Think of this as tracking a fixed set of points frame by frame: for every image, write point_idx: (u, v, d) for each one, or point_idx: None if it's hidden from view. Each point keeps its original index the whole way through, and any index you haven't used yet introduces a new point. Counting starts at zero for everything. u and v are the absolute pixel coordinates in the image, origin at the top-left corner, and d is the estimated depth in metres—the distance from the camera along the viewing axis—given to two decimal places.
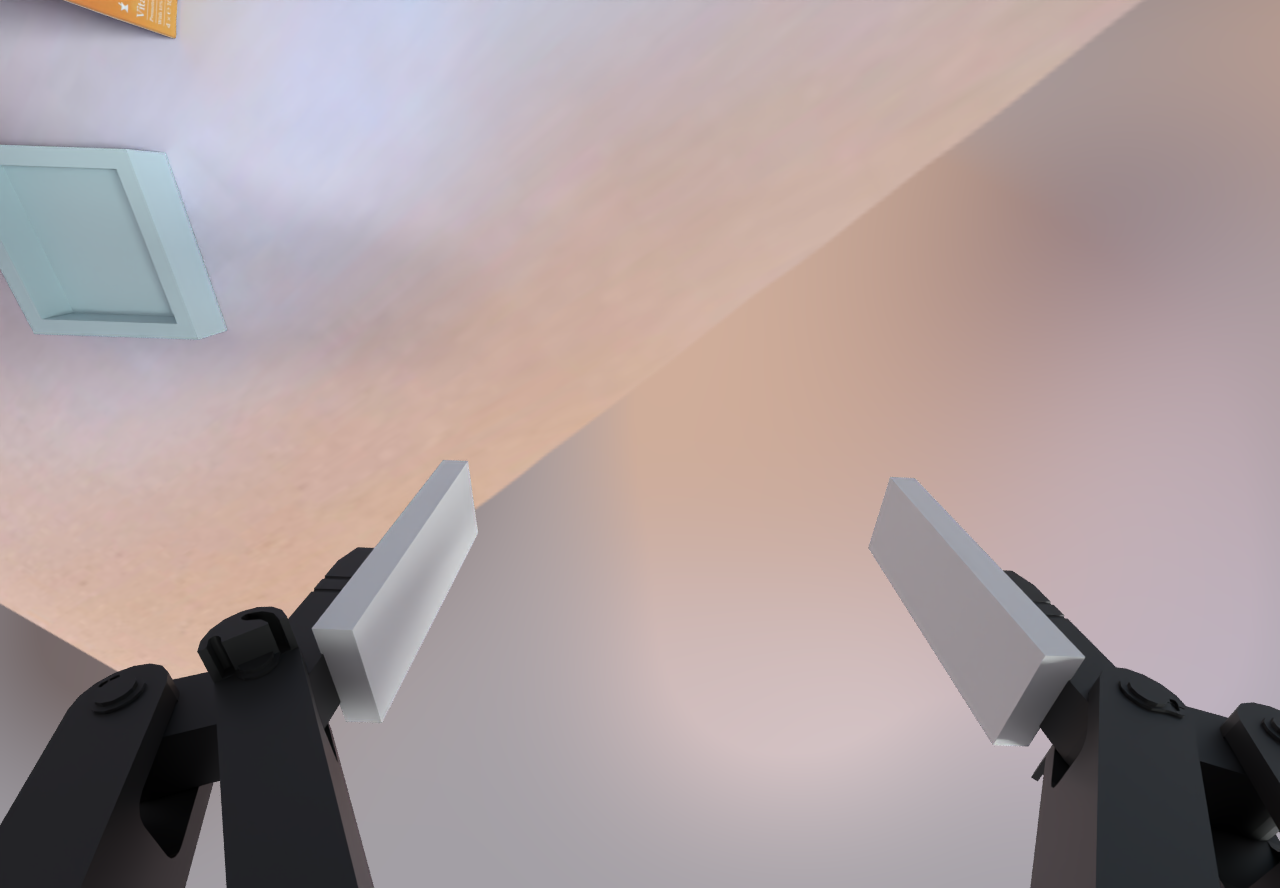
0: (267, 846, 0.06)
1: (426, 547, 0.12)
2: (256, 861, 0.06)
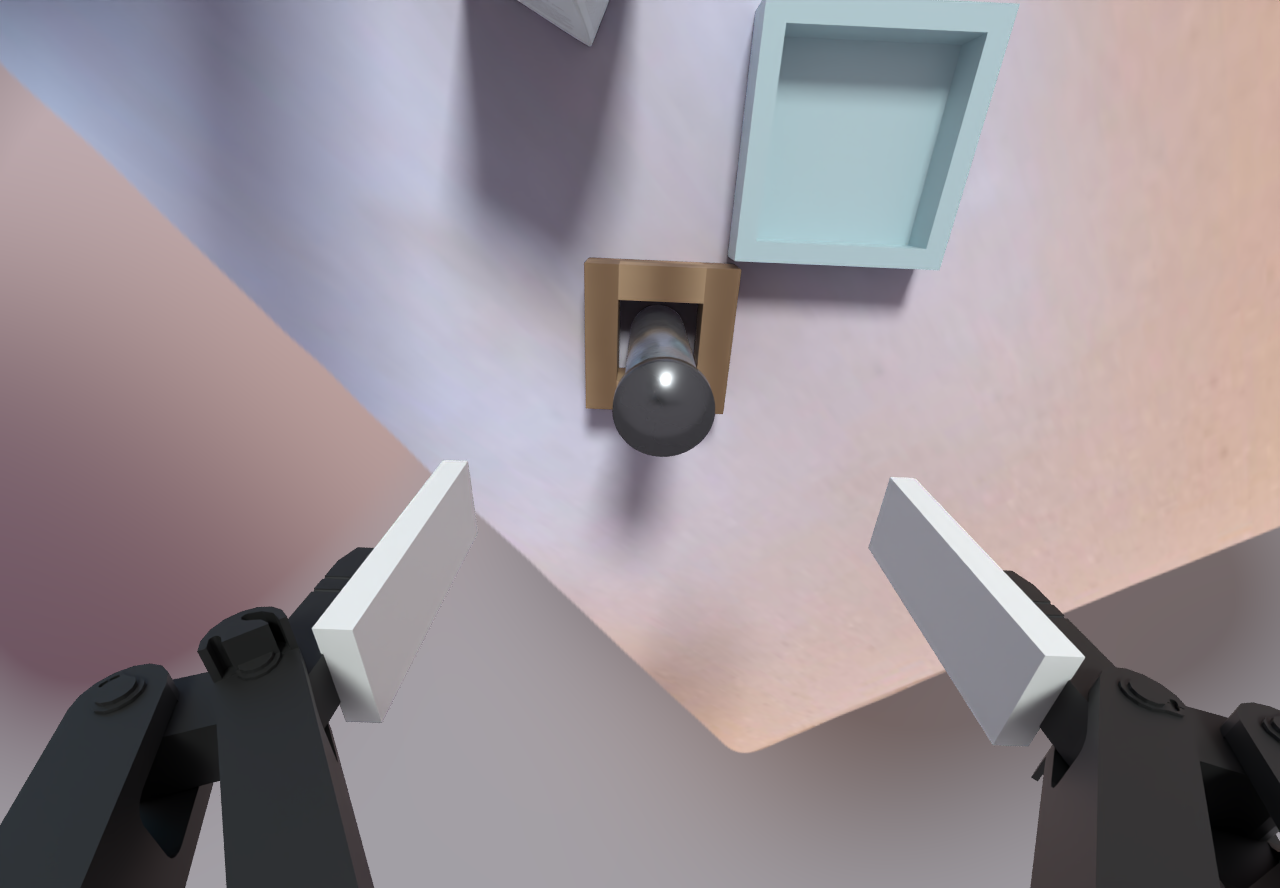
0: (267, 846, 0.06)
1: (425, 547, 0.12)
2: (256, 861, 0.06)
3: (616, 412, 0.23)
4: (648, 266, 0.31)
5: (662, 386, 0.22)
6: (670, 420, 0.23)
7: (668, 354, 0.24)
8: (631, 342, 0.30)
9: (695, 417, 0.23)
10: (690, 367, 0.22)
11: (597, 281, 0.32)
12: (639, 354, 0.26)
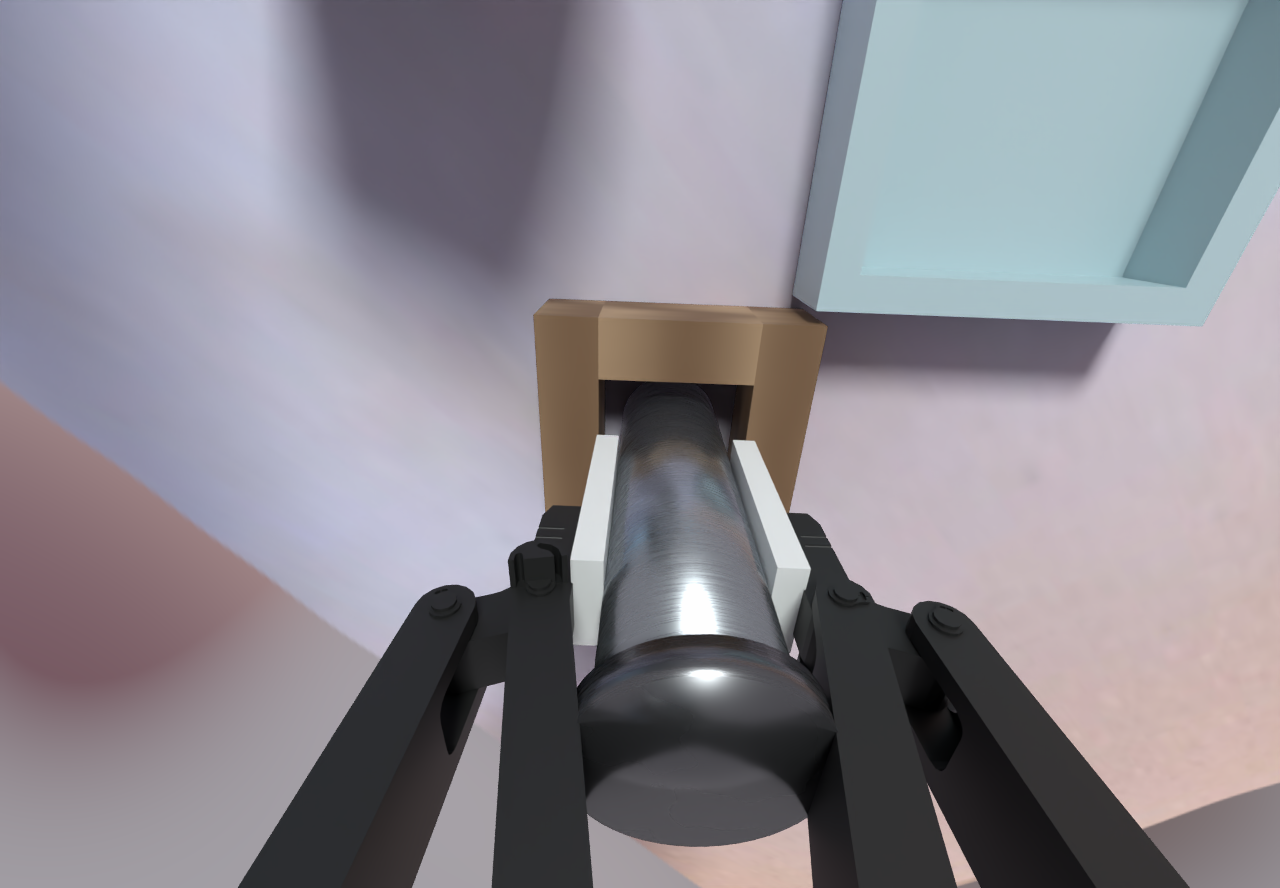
0: (529, 735, 0.08)
1: (612, 505, 0.14)
2: (520, 742, 0.07)
3: None
4: (653, 321, 0.17)
5: (700, 726, 0.08)
6: (719, 789, 0.08)
7: (707, 577, 0.10)
8: (621, 472, 0.15)
9: (788, 783, 0.08)
10: (783, 682, 0.07)
11: (558, 348, 0.17)
12: (635, 552, 0.11)
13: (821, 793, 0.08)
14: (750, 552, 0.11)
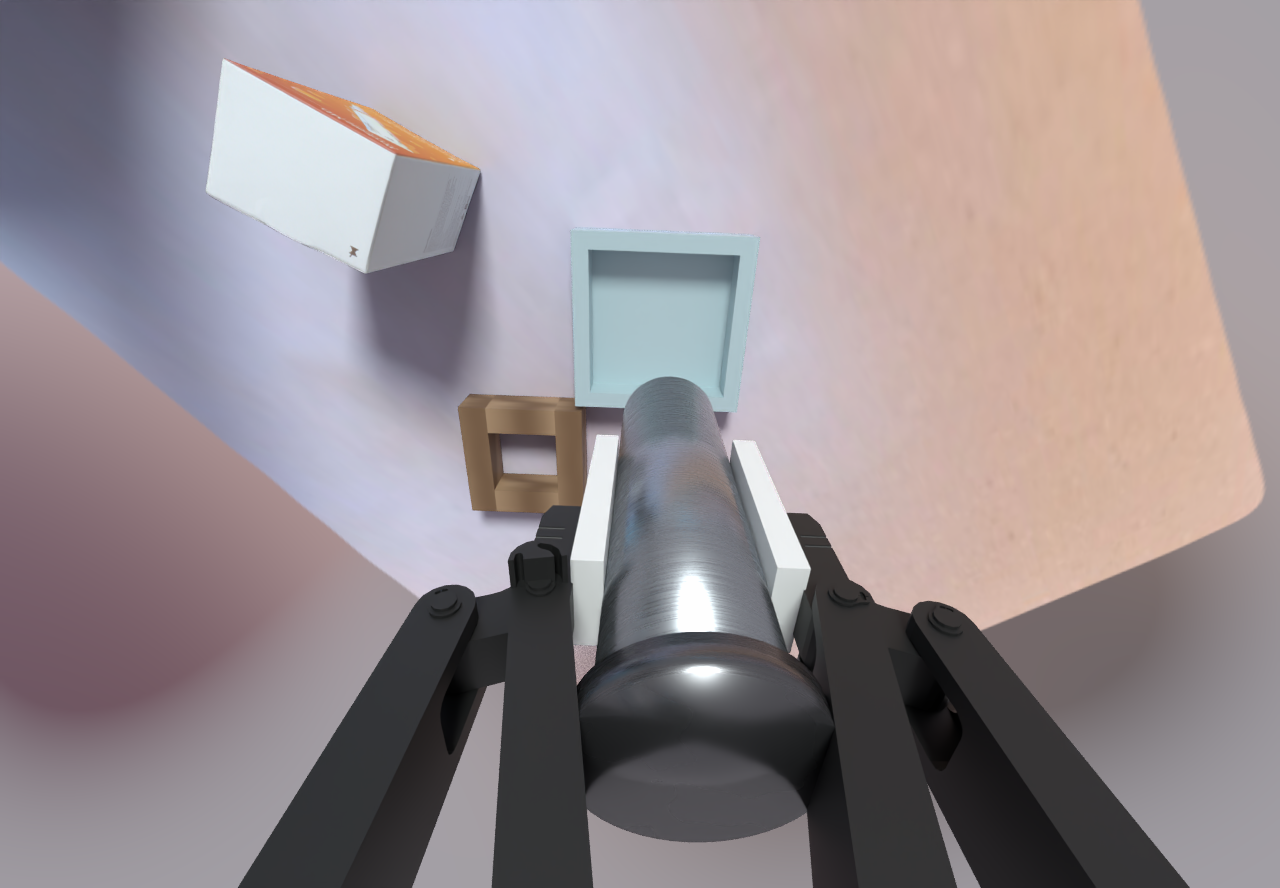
0: (529, 735, 0.08)
1: (612, 504, 0.14)
2: (520, 742, 0.07)
3: None
4: (508, 409, 0.40)
5: (699, 722, 0.08)
6: (718, 785, 0.09)
7: (706, 576, 0.10)
8: (621, 472, 0.15)
9: (786, 779, 0.09)
10: (781, 679, 0.08)
11: (469, 420, 0.40)
12: (635, 551, 0.11)
13: (821, 793, 0.08)
14: (749, 551, 0.11)
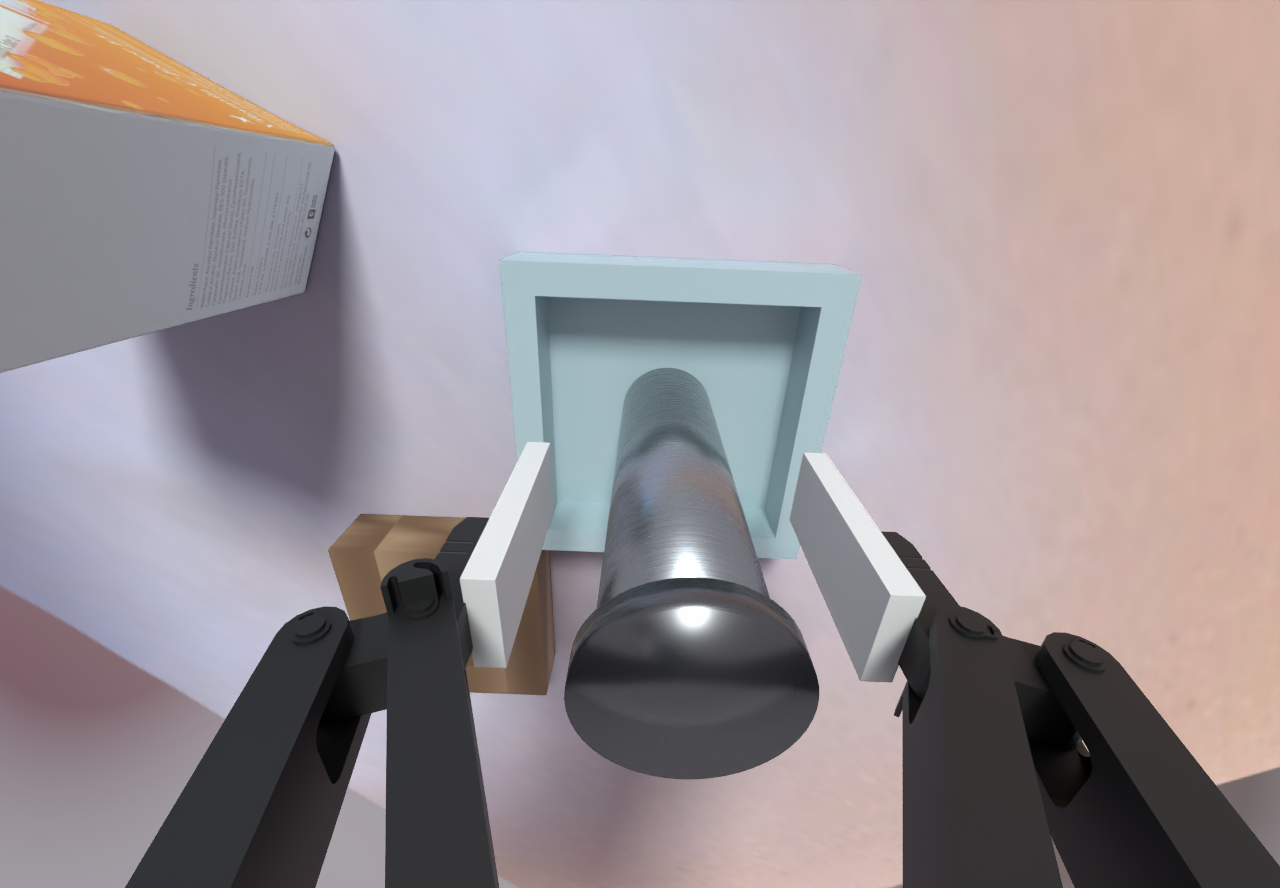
0: (418, 767, 0.07)
1: (528, 517, 0.13)
2: (409, 778, 0.07)
3: (574, 704, 0.09)
4: (413, 553, 0.24)
5: (688, 658, 0.09)
6: (706, 720, 0.09)
7: (697, 536, 0.11)
8: (621, 453, 0.16)
9: (768, 714, 0.09)
10: (762, 616, 0.08)
11: (350, 568, 0.24)
12: (633, 518, 0.12)
13: (922, 820, 0.08)
14: (738, 519, 0.12)
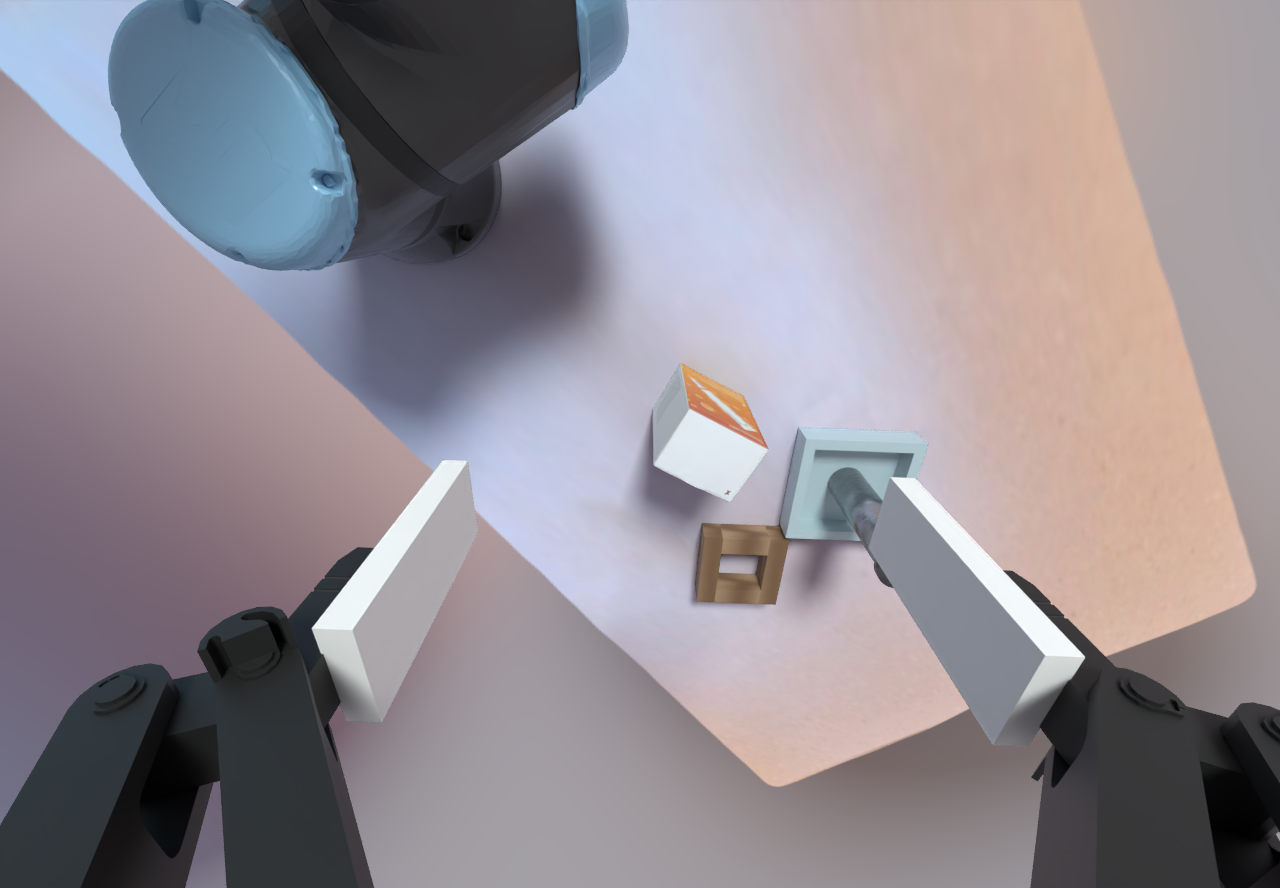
0: (267, 846, 0.06)
1: (426, 547, 0.12)
2: (256, 861, 0.06)
3: (880, 568, 0.44)
4: (739, 539, 0.58)
5: None
6: None
7: None
8: (852, 505, 0.51)
9: None
10: None
11: (710, 546, 0.58)
12: None
13: (1056, 887, 0.07)
14: None
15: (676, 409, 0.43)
